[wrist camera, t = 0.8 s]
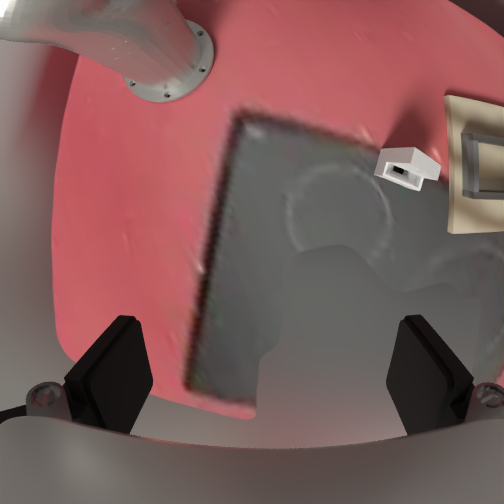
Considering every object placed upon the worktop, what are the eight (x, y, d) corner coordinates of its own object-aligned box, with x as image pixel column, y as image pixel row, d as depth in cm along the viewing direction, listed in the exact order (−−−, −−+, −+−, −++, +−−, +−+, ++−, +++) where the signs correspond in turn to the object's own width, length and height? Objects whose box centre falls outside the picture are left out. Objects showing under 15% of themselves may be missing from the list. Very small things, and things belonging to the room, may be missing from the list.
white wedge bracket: (356, 136, 34) (414, 147, 27) (400, 159, 39) (451, 174, 32) (348, 163, 35) (405, 180, 28) (394, 183, 40) (444, 200, 33)
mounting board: (443, 96, 33) (460, 91, 29) (506, 109, 32) (523, 108, 28) (447, 231, 39) (463, 239, 34) (507, 228, 38) (523, 235, 33)
